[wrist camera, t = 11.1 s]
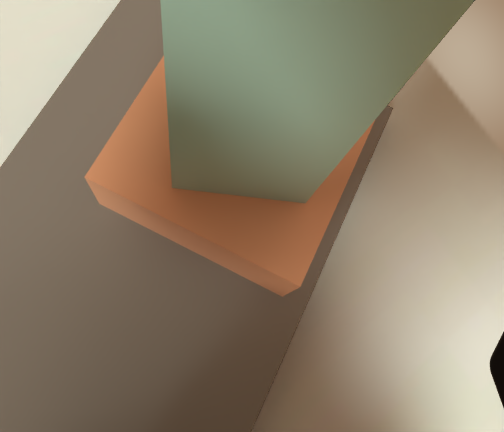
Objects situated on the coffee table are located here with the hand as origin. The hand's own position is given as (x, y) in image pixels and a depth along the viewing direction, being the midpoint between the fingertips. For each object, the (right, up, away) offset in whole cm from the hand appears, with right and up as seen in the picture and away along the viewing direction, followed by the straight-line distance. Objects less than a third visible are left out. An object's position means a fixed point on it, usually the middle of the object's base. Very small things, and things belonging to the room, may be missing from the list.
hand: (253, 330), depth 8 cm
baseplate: (-4, +1, +12) cm, 12 cm away
